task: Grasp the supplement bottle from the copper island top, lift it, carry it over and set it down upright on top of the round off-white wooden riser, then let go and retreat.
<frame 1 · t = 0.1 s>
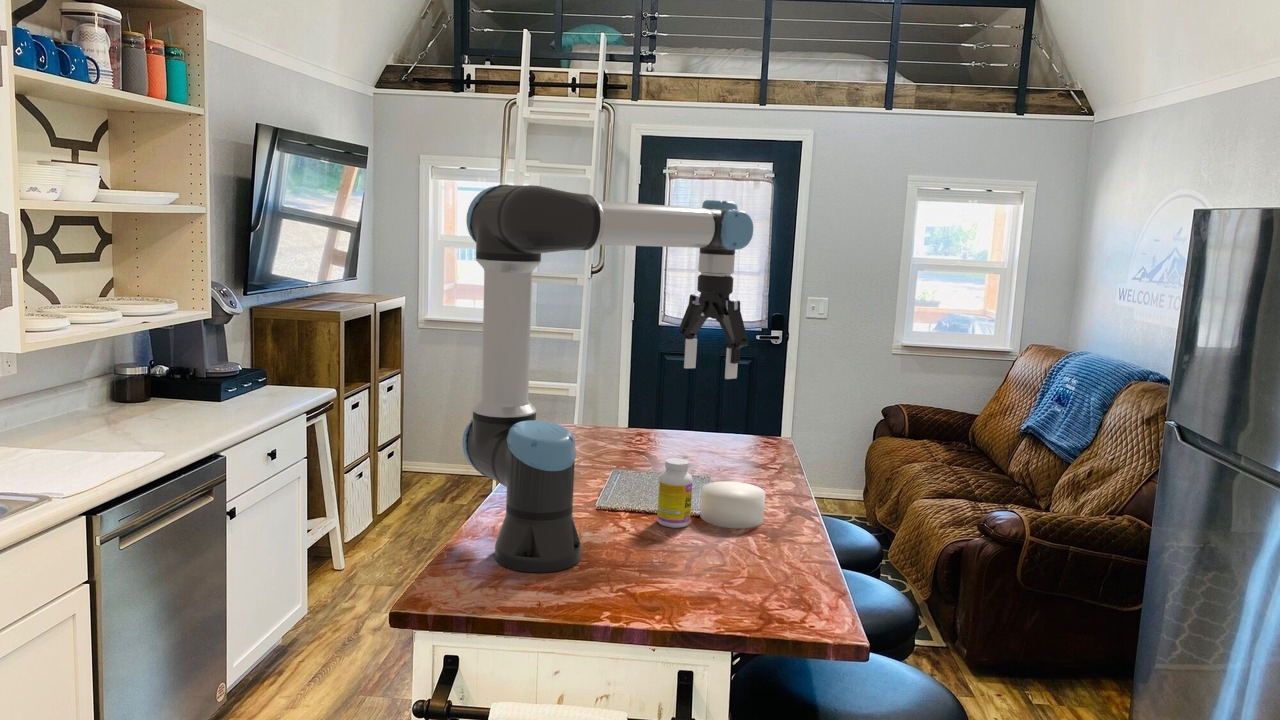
hand: (709, 373, 197), 28 cm above the kitchen island, fingers open, 13 cm apart
riser: (731, 518, 189), on the kitchen island
supplement bottle: (673, 524, 184), on the kitchen island
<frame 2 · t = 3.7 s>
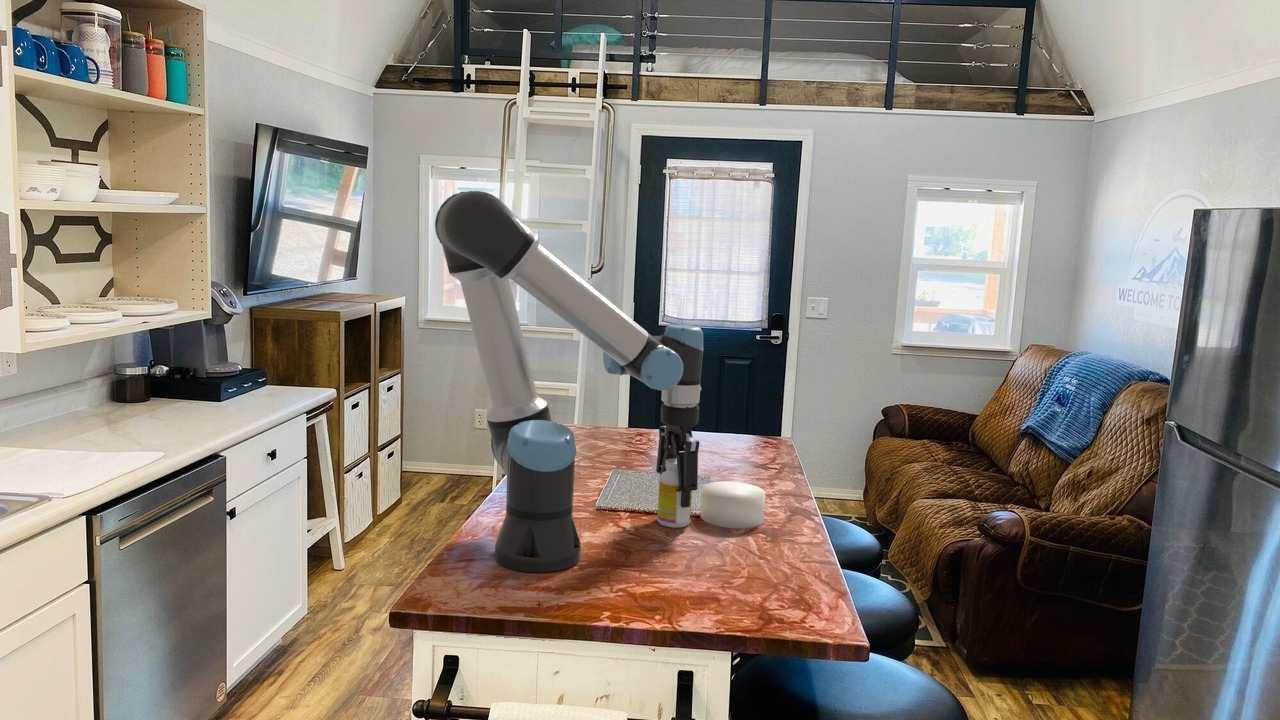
hand: (673, 515, 184), 2 cm above the kitchen island, fingers closed on supplement bottle, 7 cm apart
supplement bottle: (673, 524, 184), on the kitchen island, touching gripper
everything else where it was.
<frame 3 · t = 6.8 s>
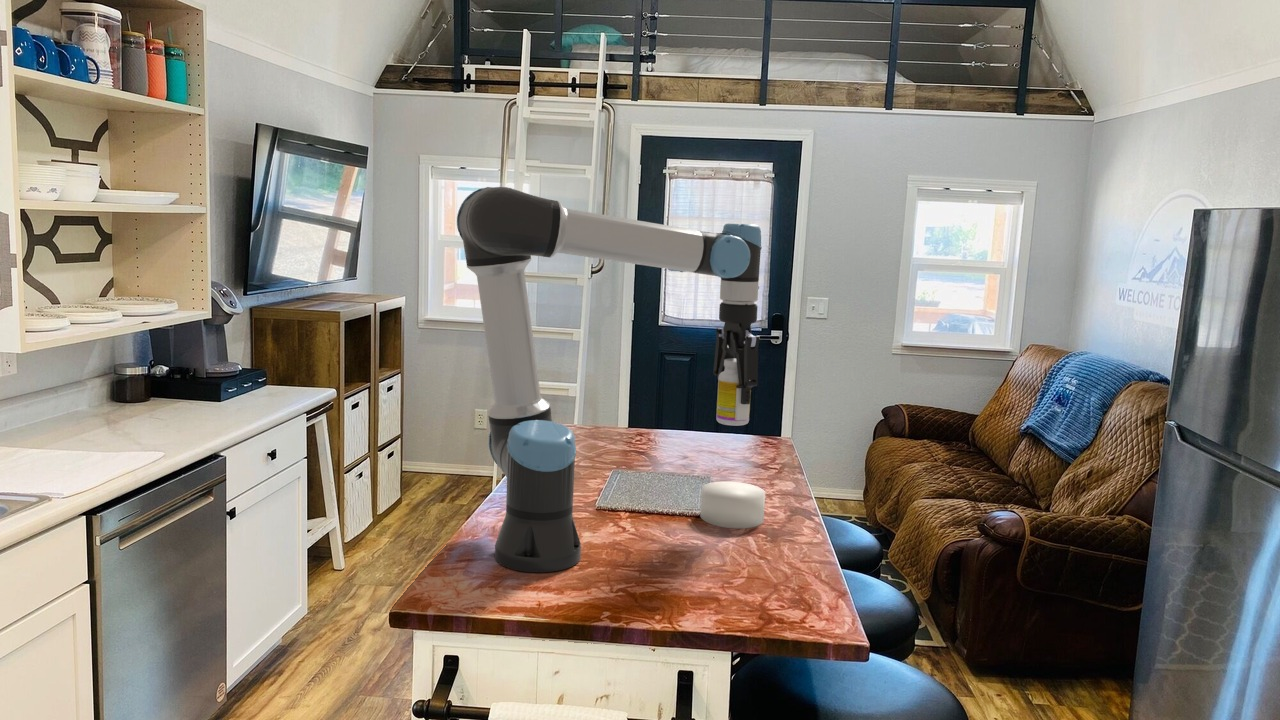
hand: (732, 415, 185), 22 cm above the kitchen island, fingers closed on supplement bottle, 7 cm apart
supplement bottle: (732, 423, 186), point 20 cm above the kitchen island, touching gripper
everything else where it was.
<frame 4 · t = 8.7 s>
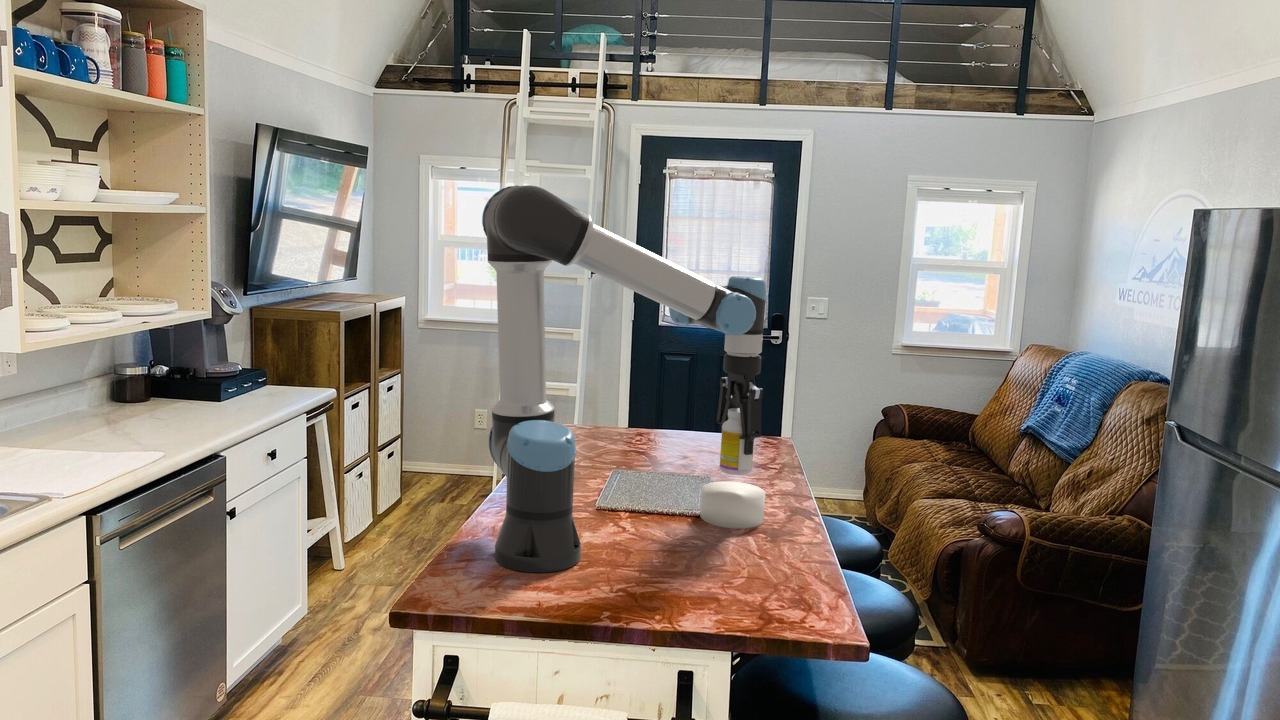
hand: (735, 464, 188), 11 cm above the kitchen island, fingers closed on supplement bottle, 7 cm apart
supplement bottle: (735, 472, 188), point 10 cm above the kitchen island, touching gripper
everything else where it was.
when the fingers open (9 cm above the kitchen island, at t = 10.0 s): supplement bottle drops 2 cm, resting on riser.
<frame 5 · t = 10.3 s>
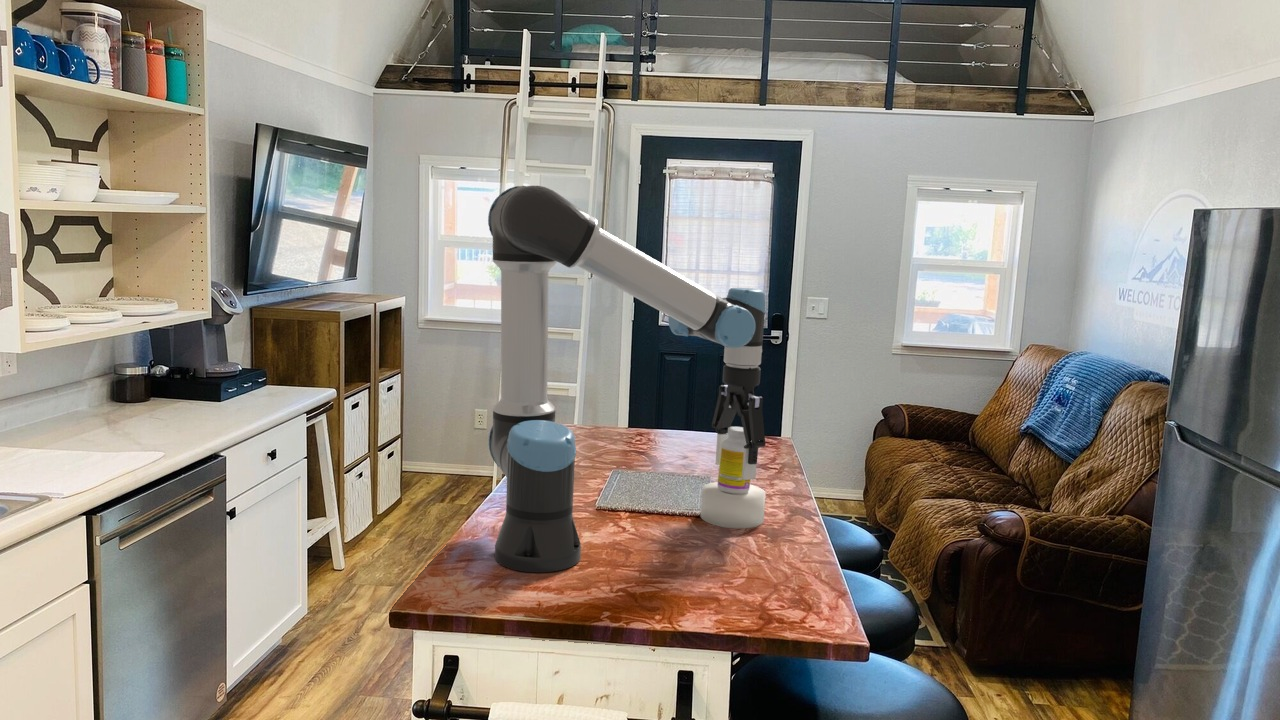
hand: (734, 471, 188), 10 cm above the kitchen island, fingers open, 10 cm apart
riser: (731, 518, 189), on the kitchen island, touching supplement bottle
supplement bottle: (733, 490, 189), point 6 cm above the kitchen island, touching riser
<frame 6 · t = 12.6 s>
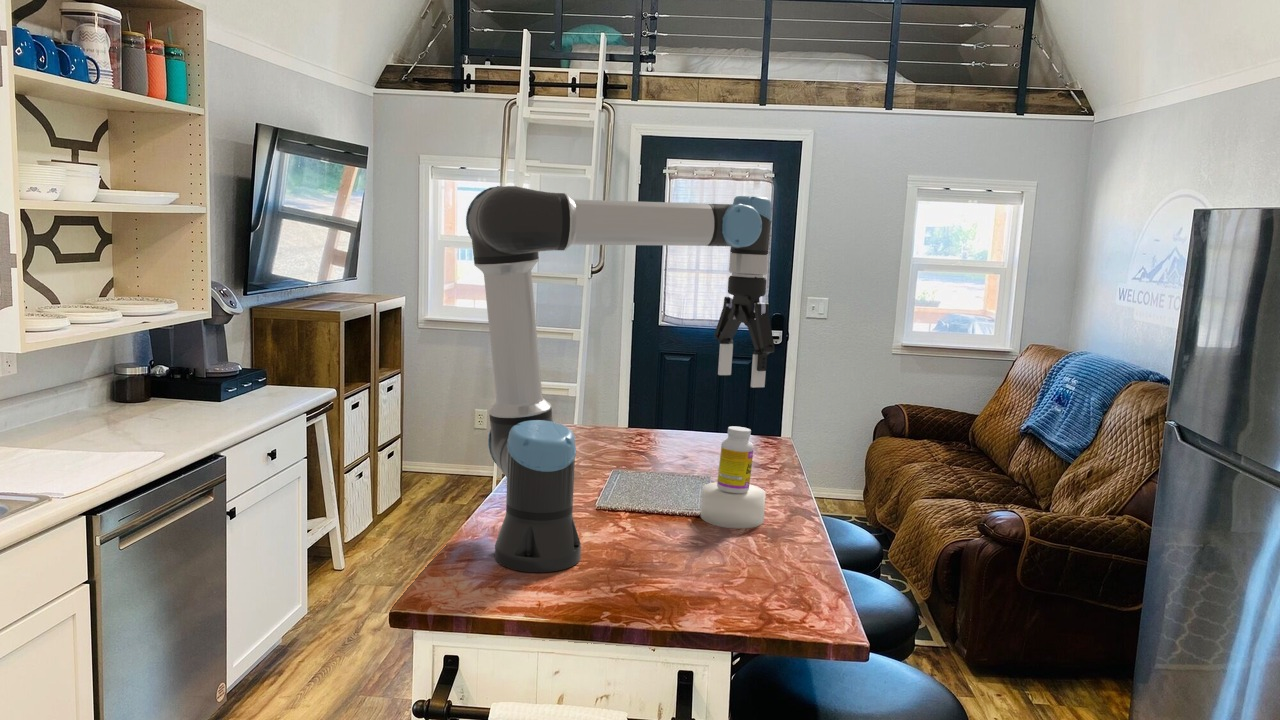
hand: (740, 380, 185), 29 cm above the kitchen island, fingers open, 13 cm apart
nothing on the kitchen island moved.
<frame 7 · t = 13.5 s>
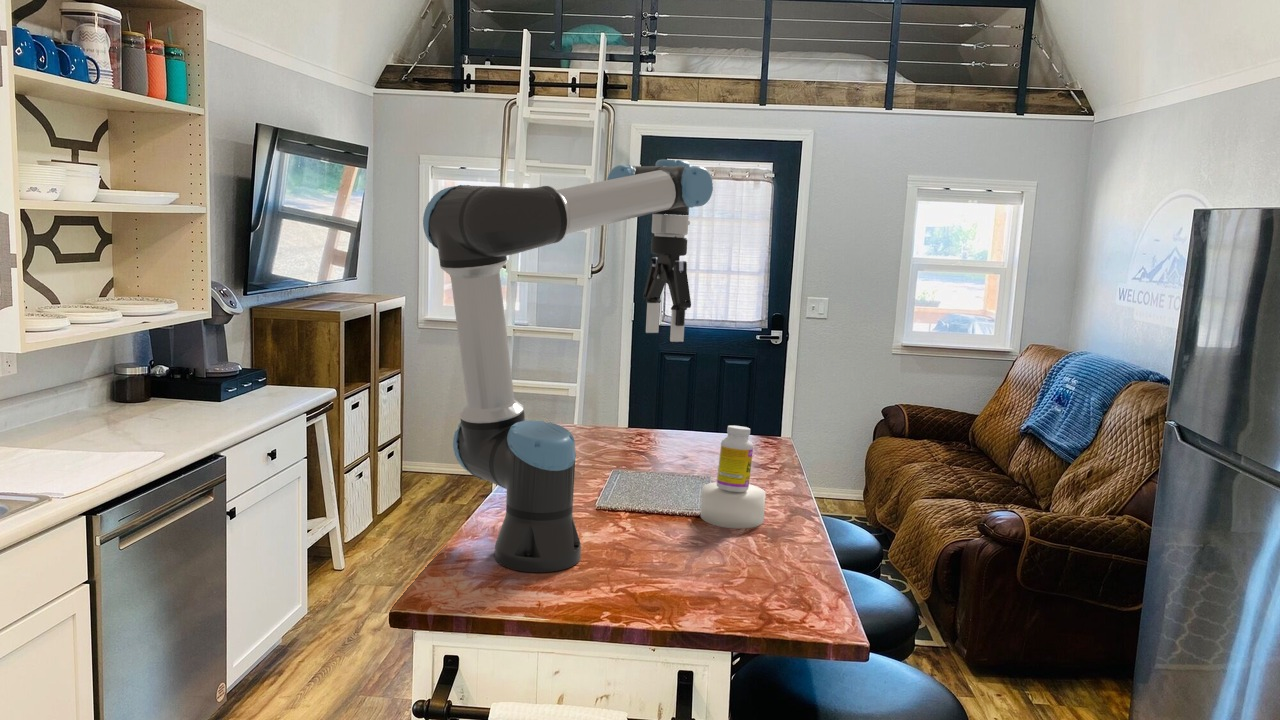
hand: (663, 337, 194), 36 cm above the kitchen island, fingers open, 13 cm apart
riser: (731, 518, 189), on the kitchen island
supplement bottle: (732, 490, 188), point 6 cm above the kitchen island
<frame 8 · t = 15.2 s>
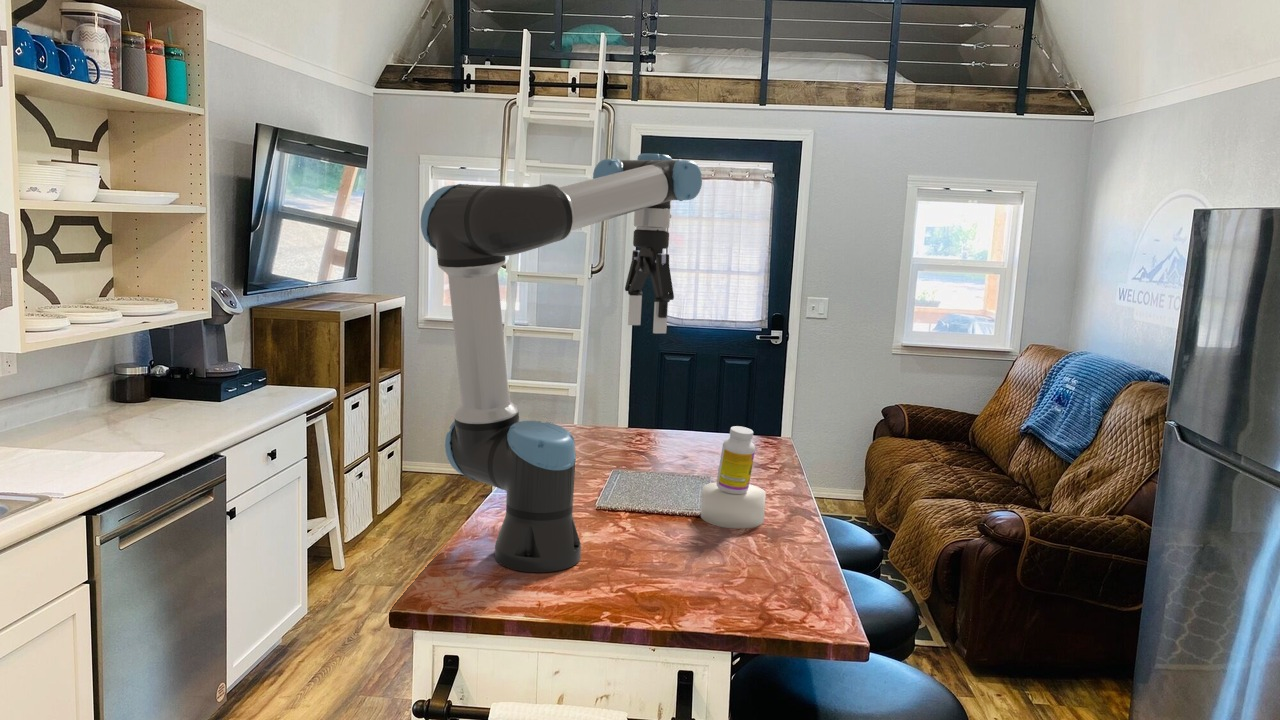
hand: (646, 329, 197), 37 cm above the kitchen island, fingers open, 13 cm apart
at the end: supplement bottle inside the target area on the riser (0.5 cm from its centre), point 6.2 cm above the riser's base; supplement bottle tilted 7°; the gripper is holding nothing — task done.
